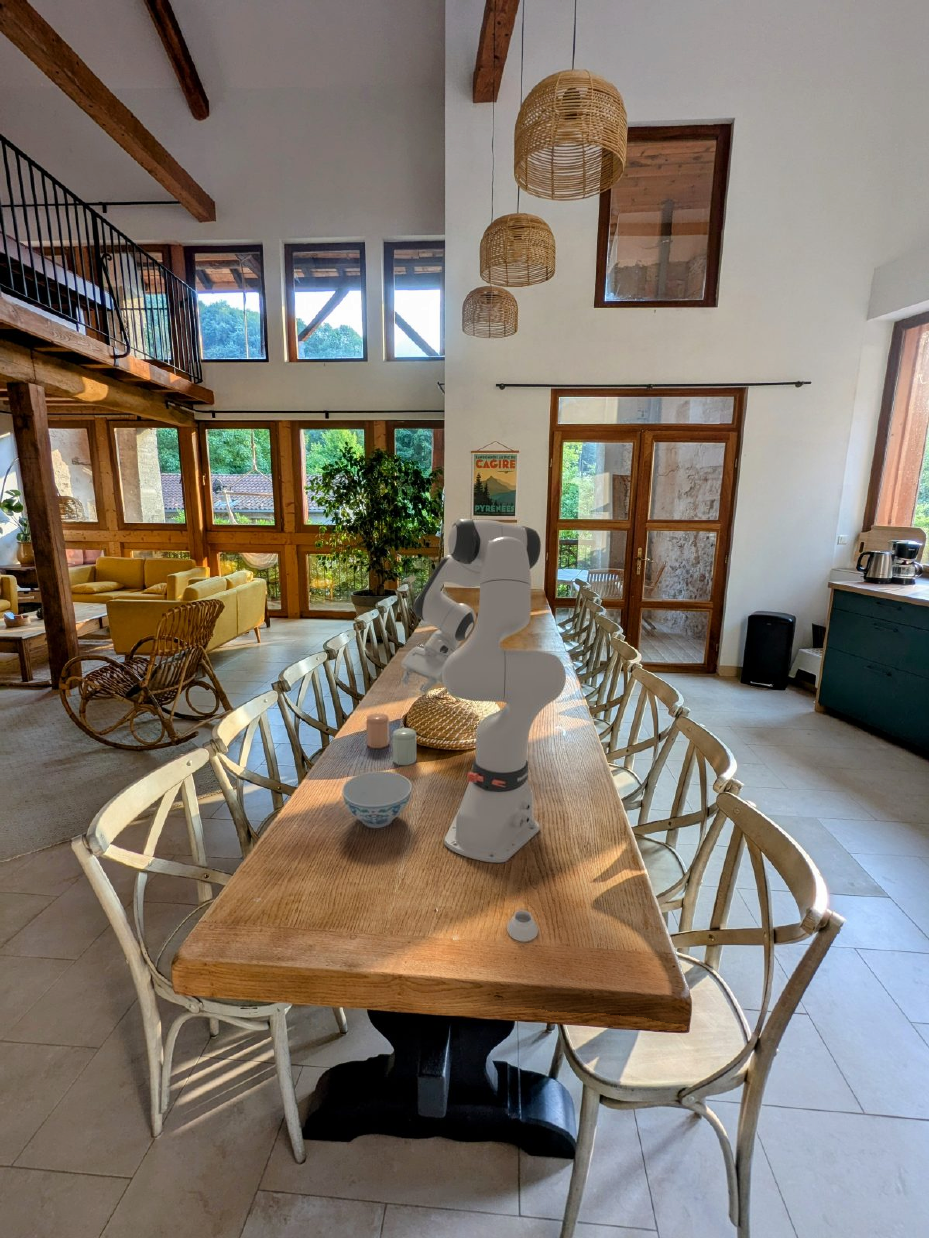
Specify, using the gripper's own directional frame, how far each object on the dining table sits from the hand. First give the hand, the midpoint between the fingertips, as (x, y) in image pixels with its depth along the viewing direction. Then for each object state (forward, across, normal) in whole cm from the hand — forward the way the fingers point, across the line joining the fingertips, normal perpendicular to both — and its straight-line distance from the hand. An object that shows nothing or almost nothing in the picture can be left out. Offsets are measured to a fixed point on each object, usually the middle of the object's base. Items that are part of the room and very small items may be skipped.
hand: (412, 687), depth 168 cm
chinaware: (+34, +34, -13) cm, 50 cm away
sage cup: (+19, +13, +2) cm, 23 cm away
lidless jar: (+34, +77, -12) cm, 85 cm away
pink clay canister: (+19, 0, +2) cm, 19 cm away
